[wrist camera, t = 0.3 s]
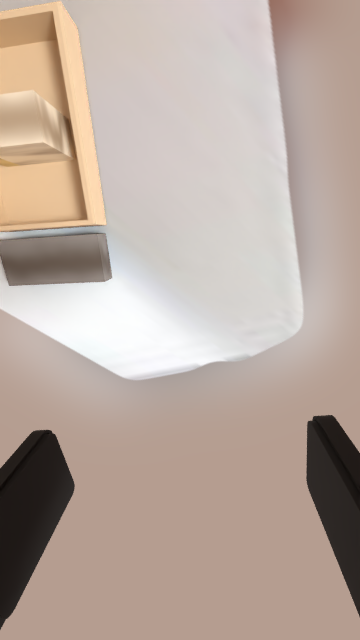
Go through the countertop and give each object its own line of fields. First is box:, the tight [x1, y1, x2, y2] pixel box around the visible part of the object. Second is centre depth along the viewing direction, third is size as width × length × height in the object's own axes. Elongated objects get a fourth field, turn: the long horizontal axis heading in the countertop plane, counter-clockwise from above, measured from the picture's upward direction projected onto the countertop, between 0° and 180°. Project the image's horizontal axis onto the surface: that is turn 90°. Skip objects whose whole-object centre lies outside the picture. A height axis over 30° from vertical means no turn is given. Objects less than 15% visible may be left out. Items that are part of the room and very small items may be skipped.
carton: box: [0, 1, 107, 232], centre depth 28 cm, size 21×16×12 cm
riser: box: [0, 234, 112, 286], centre depth 37 cm, size 6×15×3 cm, turn 93°
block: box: [0, 90, 75, 167], centre depth 30 cm, size 4×10×7 cm, turn 93°
